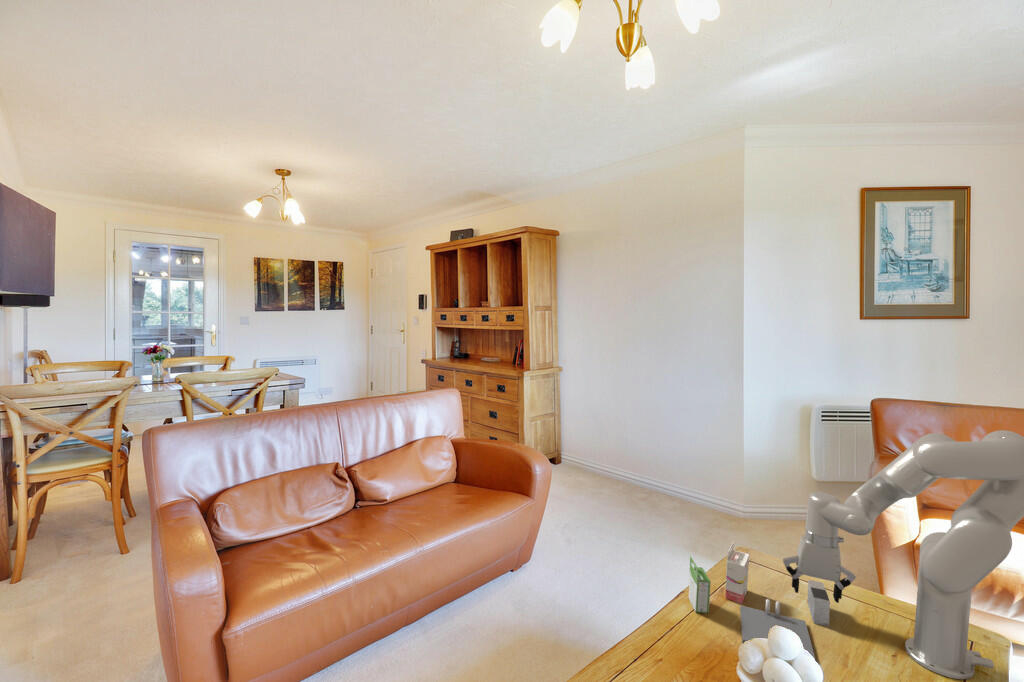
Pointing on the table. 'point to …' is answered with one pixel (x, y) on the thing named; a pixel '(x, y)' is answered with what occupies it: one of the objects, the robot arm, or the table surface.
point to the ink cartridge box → (736, 575)
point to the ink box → (699, 588)
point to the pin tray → (771, 624)
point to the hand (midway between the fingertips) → (815, 594)
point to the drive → (818, 603)
